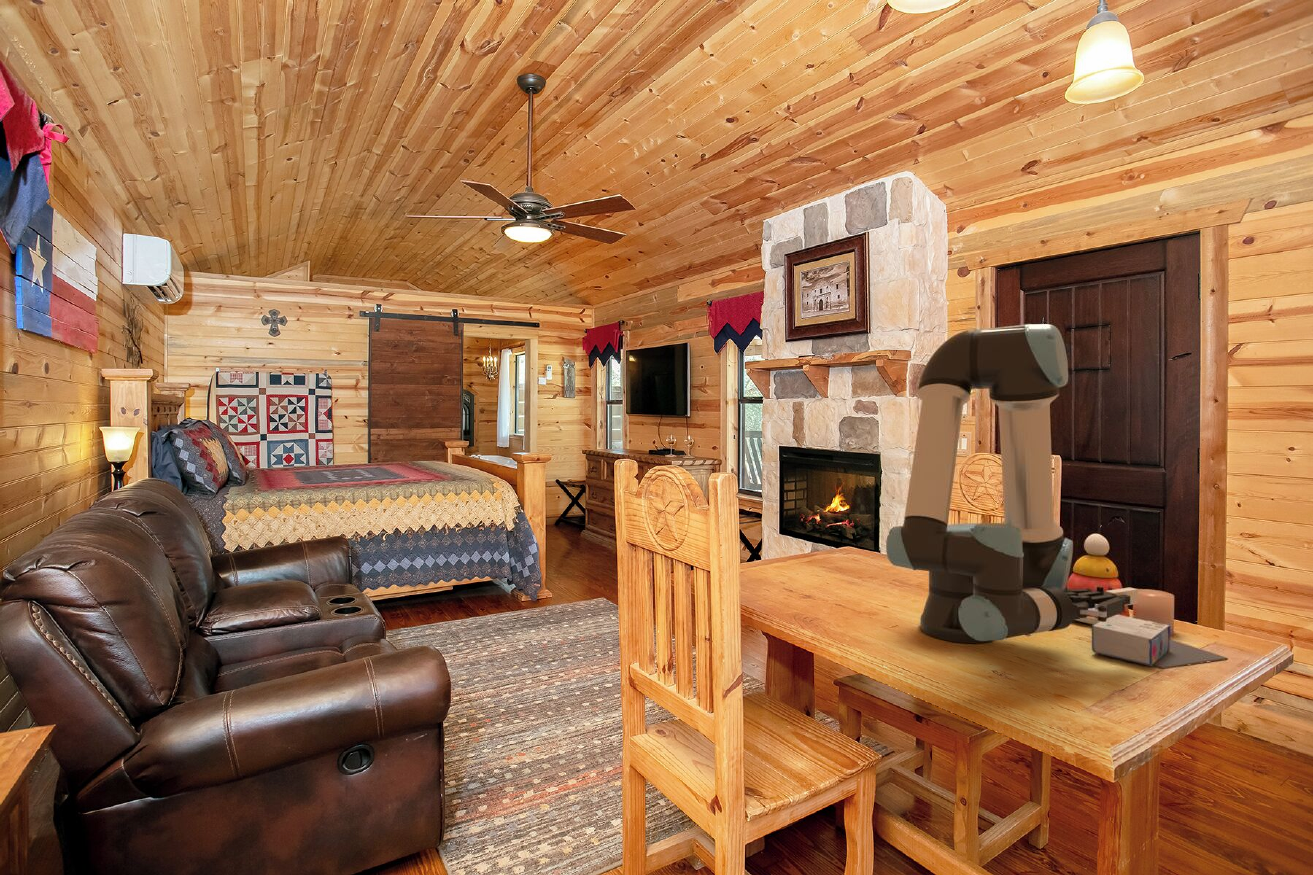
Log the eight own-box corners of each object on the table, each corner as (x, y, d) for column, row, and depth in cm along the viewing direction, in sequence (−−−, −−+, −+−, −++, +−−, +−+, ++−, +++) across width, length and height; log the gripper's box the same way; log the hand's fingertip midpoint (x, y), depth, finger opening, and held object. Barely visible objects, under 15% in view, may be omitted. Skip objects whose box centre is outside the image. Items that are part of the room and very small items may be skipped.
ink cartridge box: (1152, 668, 121) (1174, 648, 130) (1153, 639, 120) (1175, 620, 129) (1090, 653, 128) (1115, 634, 137) (1091, 625, 128) (1116, 608, 137)
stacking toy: (1098, 632, 141) (1098, 542, 140) (1042, 613, 154) (1042, 530, 154) (1148, 625, 145) (1149, 537, 144) (1090, 607, 158) (1090, 527, 158)
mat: (1102, 646, 132) (1102, 645, 132) (1164, 638, 136) (1164, 637, 136) (1162, 668, 121) (1162, 667, 121) (1227, 659, 125) (1227, 657, 125)
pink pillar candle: (1124, 626, 144) (1125, 590, 144) (1149, 623, 146) (1150, 588, 146) (1156, 637, 137) (1156, 599, 137) (1182, 633, 139) (1182, 596, 139)
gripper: (1009, 620, 122) (1100, 605, 130) (1074, 642, 110) (1170, 625, 118) (1009, 579, 122) (1100, 568, 130) (1074, 597, 110) (1171, 583, 118)
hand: (1133, 595), depth 124 cm, fingers closed
